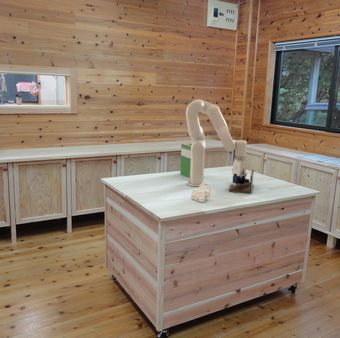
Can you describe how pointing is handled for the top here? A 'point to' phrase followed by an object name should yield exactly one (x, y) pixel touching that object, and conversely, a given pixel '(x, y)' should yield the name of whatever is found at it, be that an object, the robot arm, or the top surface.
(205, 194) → the cream knobbly stepped block
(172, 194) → the top surface
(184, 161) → the hardback book
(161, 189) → the top surface
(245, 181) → the trainer
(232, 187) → the brown desk organizer
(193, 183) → the robot arm
